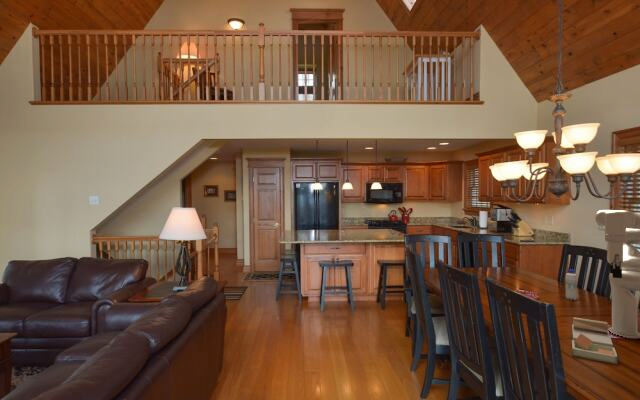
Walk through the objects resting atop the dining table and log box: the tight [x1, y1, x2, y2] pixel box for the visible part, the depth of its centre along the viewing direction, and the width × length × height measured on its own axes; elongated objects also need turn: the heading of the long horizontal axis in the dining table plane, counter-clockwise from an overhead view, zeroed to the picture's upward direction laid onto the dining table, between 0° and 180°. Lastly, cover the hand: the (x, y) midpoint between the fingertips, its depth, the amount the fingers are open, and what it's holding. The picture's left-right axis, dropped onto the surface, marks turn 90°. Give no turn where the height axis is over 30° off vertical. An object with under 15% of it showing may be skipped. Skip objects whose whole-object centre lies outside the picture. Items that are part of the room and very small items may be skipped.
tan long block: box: [572, 316, 609, 334], centre depth 170 cm, size 3×13×5 cm, turn 56°
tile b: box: [574, 334, 593, 350], centre depth 158 cm, size 5×5×2 cm
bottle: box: [564, 268, 578, 301], centre depth 232 cm, size 7×7×20 cm
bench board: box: [571, 324, 614, 347], centre depth 167 cm, size 20×14×4 cm
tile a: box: [598, 349, 614, 356], centre depth 150 cm, size 5×5×2 cm
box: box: [571, 339, 619, 365], centre depth 154 cm, size 11×15×3 cm
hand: (615, 275), depth 162 cm, fingers open, 9 cm apart
